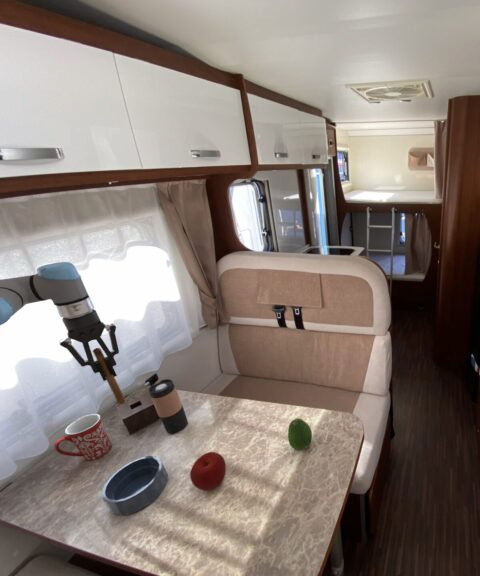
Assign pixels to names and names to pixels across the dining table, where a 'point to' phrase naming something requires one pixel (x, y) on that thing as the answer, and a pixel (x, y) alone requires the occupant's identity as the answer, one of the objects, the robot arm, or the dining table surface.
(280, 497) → the dining table surface
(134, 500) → the bowl
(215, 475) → the apple
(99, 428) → the mug
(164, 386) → the travel mug
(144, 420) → the holder
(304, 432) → the fruit
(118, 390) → the stick
